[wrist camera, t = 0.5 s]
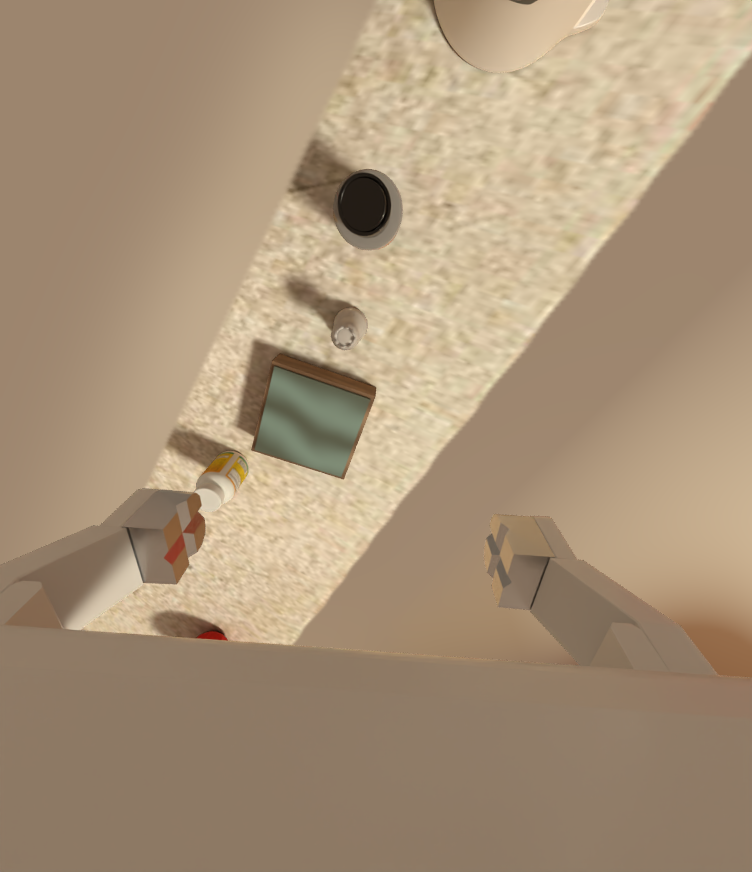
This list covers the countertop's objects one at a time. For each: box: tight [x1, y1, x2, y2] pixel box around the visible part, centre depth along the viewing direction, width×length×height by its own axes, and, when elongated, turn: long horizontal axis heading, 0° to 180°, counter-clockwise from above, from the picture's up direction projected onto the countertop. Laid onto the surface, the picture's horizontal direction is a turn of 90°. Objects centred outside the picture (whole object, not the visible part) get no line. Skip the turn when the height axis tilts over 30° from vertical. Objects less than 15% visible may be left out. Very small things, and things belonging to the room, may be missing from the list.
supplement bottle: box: [193, 451, 249, 512], centre depth 55 cm, size 5×5×10 cm
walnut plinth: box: [252, 354, 376, 479], centre depth 53 cm, size 14×14×4 cm
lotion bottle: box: [333, 169, 403, 250], centre depth 34 cm, size 6×6×20 cm
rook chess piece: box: [331, 307, 368, 350], centre depth 45 cm, size 4×4×8 cm
